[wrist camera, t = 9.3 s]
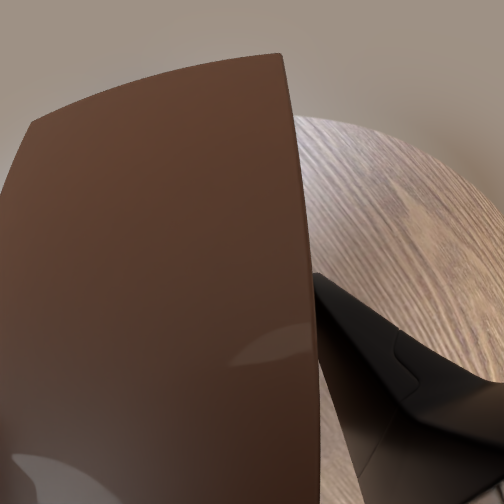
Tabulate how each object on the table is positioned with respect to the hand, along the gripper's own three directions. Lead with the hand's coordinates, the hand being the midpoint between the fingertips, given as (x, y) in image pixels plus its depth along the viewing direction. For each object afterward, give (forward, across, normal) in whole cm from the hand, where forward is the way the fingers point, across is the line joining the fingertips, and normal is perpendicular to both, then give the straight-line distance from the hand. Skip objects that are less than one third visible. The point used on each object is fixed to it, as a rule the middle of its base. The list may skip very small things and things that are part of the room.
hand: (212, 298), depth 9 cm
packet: (+4, -1, +7) cm, 8 cm away
